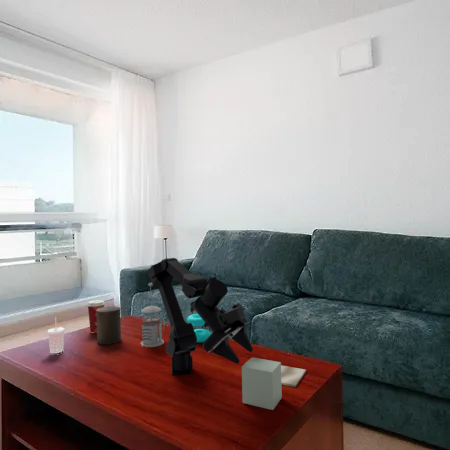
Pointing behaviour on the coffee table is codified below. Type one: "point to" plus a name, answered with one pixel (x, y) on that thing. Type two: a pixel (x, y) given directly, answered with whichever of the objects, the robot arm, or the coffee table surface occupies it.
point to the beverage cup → (56, 338)
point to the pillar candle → (108, 325)
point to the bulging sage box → (261, 383)
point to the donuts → (200, 333)
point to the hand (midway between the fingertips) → (245, 356)
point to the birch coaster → (291, 375)
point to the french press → (152, 327)
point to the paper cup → (94, 313)
